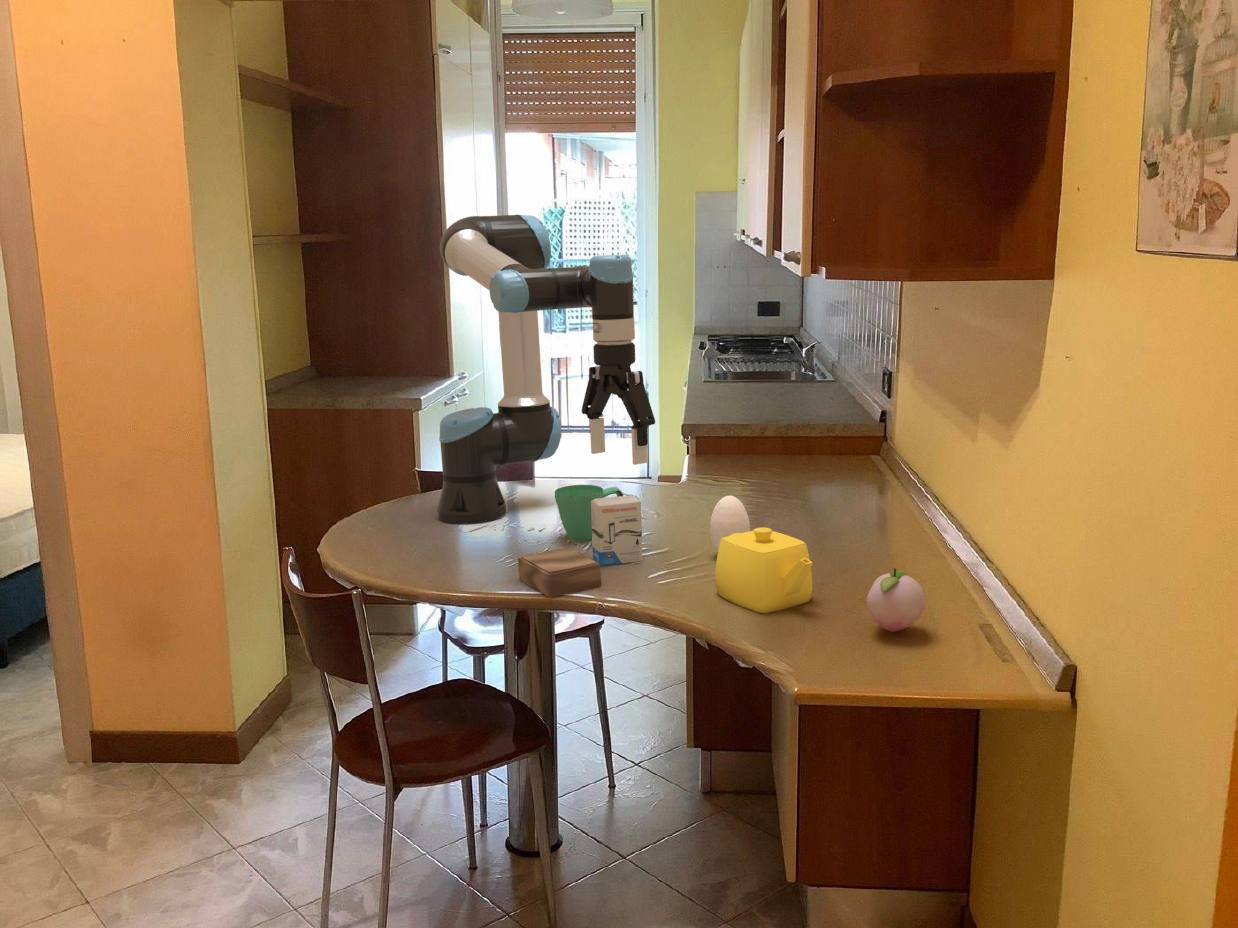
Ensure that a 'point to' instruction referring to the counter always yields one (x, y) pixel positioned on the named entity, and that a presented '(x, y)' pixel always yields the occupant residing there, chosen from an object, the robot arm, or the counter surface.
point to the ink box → (616, 530)
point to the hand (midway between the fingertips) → (618, 458)
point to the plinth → (559, 572)
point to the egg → (728, 519)
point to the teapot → (763, 570)
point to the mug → (579, 508)
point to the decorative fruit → (896, 600)
